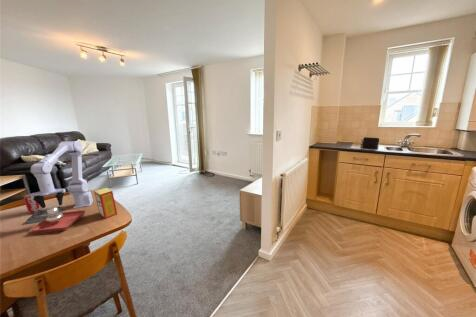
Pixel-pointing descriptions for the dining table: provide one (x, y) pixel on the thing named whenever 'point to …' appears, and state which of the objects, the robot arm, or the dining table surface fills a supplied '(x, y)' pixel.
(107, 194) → the baking soda box
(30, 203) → the beverage can
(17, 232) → the dining table surface
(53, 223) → the plant saucer
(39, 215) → the bore housing
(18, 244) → the dining table surface
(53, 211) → the end cover
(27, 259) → the dining table surface
